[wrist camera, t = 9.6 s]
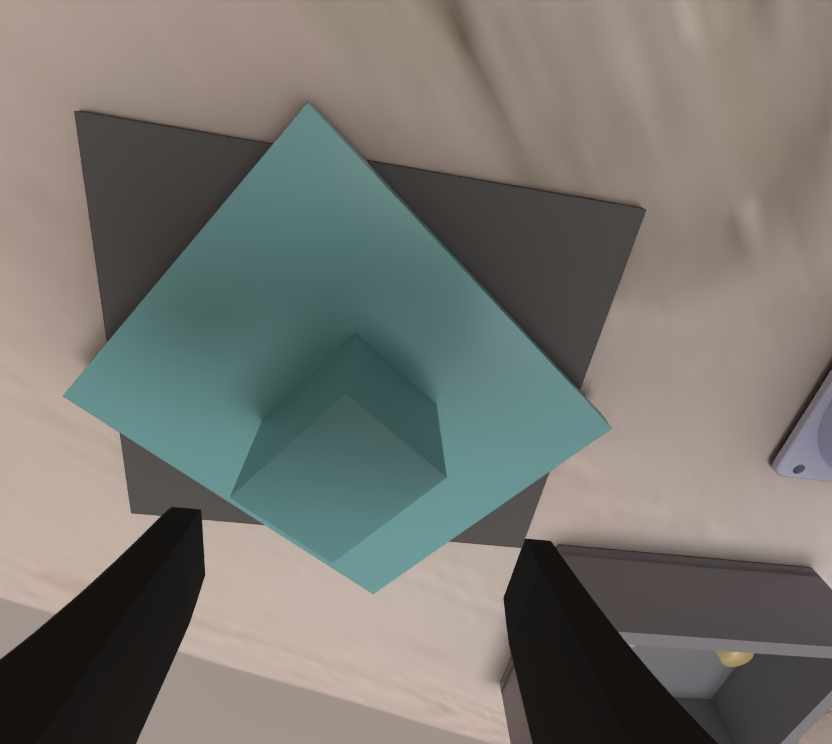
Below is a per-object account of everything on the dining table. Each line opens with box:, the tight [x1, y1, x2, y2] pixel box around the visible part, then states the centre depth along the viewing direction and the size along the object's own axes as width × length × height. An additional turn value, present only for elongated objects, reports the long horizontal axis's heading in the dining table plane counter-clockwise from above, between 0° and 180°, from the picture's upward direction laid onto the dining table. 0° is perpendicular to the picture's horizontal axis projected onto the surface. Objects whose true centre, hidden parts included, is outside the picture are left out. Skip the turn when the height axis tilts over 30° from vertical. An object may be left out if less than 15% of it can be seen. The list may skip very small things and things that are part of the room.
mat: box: [74, 111, 646, 548], centre depth 19 cm, size 18×16×1 cm
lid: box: [63, 103, 612, 594], centre depth 17 cm, size 15×13×6 cm
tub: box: [500, 545, 832, 744], centre depth 26 cm, size 14×12×4 cm
